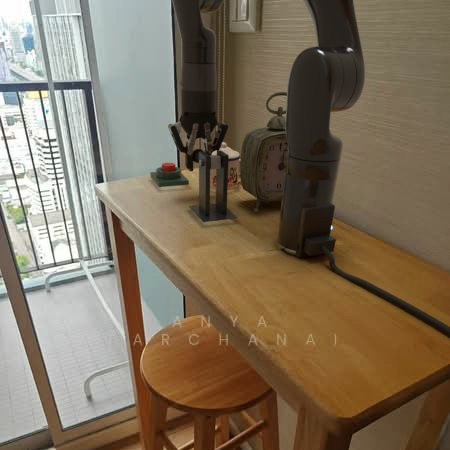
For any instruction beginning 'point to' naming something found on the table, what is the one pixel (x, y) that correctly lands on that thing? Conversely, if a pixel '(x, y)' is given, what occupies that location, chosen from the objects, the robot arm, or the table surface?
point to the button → (168, 167)
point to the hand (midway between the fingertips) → (198, 169)
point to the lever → (214, 159)
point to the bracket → (220, 207)
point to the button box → (169, 178)
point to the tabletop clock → (265, 158)
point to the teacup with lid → (232, 167)
